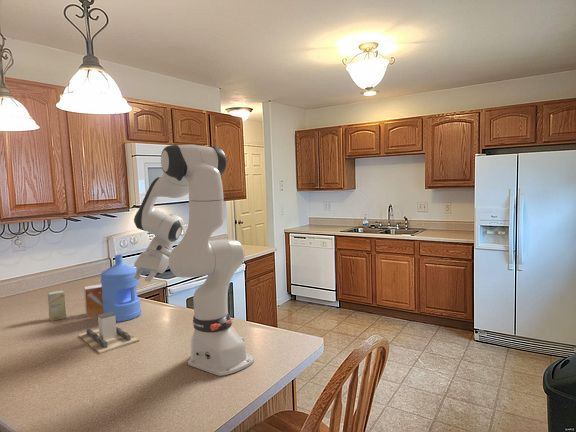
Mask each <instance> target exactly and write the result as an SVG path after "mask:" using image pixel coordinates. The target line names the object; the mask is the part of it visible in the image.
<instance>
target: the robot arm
mask: <svg viewBox="0 0 576 432" xmlns="http://www.w3.org/2000/svg"><path fill="white" fill-rule="evenodd" d="M227 164H228V163H227V157H226V154H225V152H224V151H223V149H221V148H219V147H216V146H207V145H197V144H179V145H178V144H170V145H167V146H165V147H164V148H163V149H162V151H161V155H160V165H161V169H162V172H163V174H162V175H161V176H160V177H156V178H155V179H154V180H153V181H152V182H151V183H150V185H149V187H148V189H147V191H146V193H145V195H144V198H143V200H142V202H141V205H140V206H139V208H138V210H137V211H136V214H135V215H134V219H133V222H134V225H135V227H136V229H138V230H141V231H144V232H147V233H149V234H151V235H154V237H152V240H151V241H150V242H149V244H148V246H147V248H146V249H145V250H144V251H142V252H140V254H139V256H138V257H137V258H136V260H135V262H134V264H133V267H134V268H137V270H136V274H135V276H134V278H135V279H139V280H140V278H141V277H142V276H141V274H142V273H143V271H146V272H149V274H148V275H147V276H146V277H145V278H144V280H145V282H148V283H150V282H151V281H152V279H154V277H155V276H157V274H164V273H165V272H166V270H168V268H169V270H170V272H171V273H172V274H173V276H175V277H177V278H188V279H189V278H197V277H203V276H207V277H206V279H205V281H204V282H203V283H202V284H201V285H199V286H198V287H197V288H196V289H195V291H194V293H193V296H192V300H193V314H194V315H193V318H192V324H193V328H194V331H193V334H192V336H191V339H190V358H189V359H188V360H187V365H188V366H190V367H193V368H196V369H198V370H201V371H205V372H207V373H210V374H212V375H216V376H219V377H221V376H226V375H227V376H228V375H230V374H234V373H237V372H239V371H242V370H244V369H246V368H247V367H249V366H250V365H252V364H253V363H254V362H255V358H254V357H253V356H252V355H251V354H250V353H248V352H247V348H246V344H245V343H246V342H245V338H244V337H243V336H240V335H239V333H238V332H237V331H236V329H235V328H234V327H233V325H232V324H233V318H231V316H230V313H229V311H228V294H229V287H230V283H231V281H232V278H233V276H234V274H235V273H236V272H237V270H238V269H239V268H240V267H241V266H242V265H243V263H244V261H245V249H244V247H243V245H242V244H241V242H240V241H238V240H236V239H229V238H228V239H226V238H223V239H215V240H210V239H211V236H212V234H213V233H214V232H216V231H217V230H218V229H220V228H221V227H222V225H223V224H224V222H225V204H224V203H225V202H224V189H223V188H224V187H223V181H222V175H223V174H224V172H225V171H226V168H227ZM186 195H188V225H187V228H186V231H185V233H184V235H183V237H182V239H181V240H180V241H179V243H178V244H177V245H176V246H175V247H173V246H174V243H176V242H177V241H178V239H179V238H180V236H181V234H182V232H183V227H184V225H185V222H184V219H183V218H182V217H181V216H179V215H177V214H176V213H175V214H174V213H170V214H167V213H165V212H163V211H160V210H159V209H157V208H155V207H154V206H155V203H156V202H157V200H158V198H163V197H164V198H170V199H178V198H182V197H184V196H186Z"/></svg>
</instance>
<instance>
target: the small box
mask: <svg viewBox="0 0 576 432" xmlns="http://www.w3.org/2000/svg"><path fill="white" fill-rule="evenodd" d="M83 292H84V293H83V294H84V308H85V309H84V310H85V315H86V317H87V318H89V317H93V316H98V315H100V314H104V310H103V301H102V284H101V283H100V284H99V283H98V284H93V285H88V286H83Z"/></svg>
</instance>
